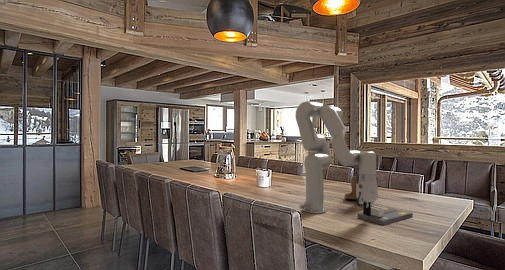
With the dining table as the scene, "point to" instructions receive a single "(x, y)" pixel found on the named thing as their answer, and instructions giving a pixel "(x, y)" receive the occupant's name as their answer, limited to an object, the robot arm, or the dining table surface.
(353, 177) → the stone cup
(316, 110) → the robot arm
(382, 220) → the fader console
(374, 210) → the fader knob
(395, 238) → the dining table surface
